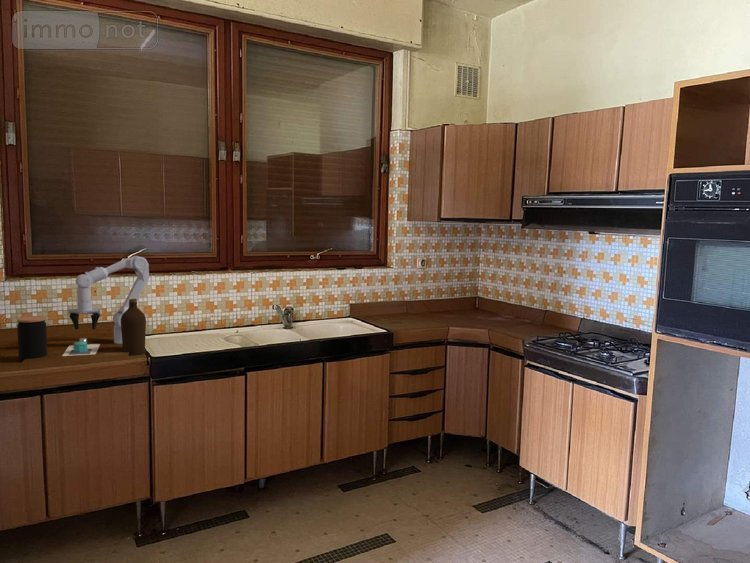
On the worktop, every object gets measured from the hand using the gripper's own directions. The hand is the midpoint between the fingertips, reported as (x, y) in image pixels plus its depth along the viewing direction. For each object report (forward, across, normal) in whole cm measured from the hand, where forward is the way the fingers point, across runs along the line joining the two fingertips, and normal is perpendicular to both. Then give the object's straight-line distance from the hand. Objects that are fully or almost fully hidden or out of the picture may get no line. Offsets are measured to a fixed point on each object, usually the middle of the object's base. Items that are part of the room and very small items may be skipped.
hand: (85, 329), depth 261 cm
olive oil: (+10, -24, +8) cm, 27 cm away
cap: (+7, -3, +13) cm, 15 cm away
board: (+9, -1, +8) cm, 12 cm away
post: (+8, 0, +3) cm, 8 cm away
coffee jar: (+10, +14, +19) cm, 26 cm away
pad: (+8, -3, +13) cm, 15 cm away
